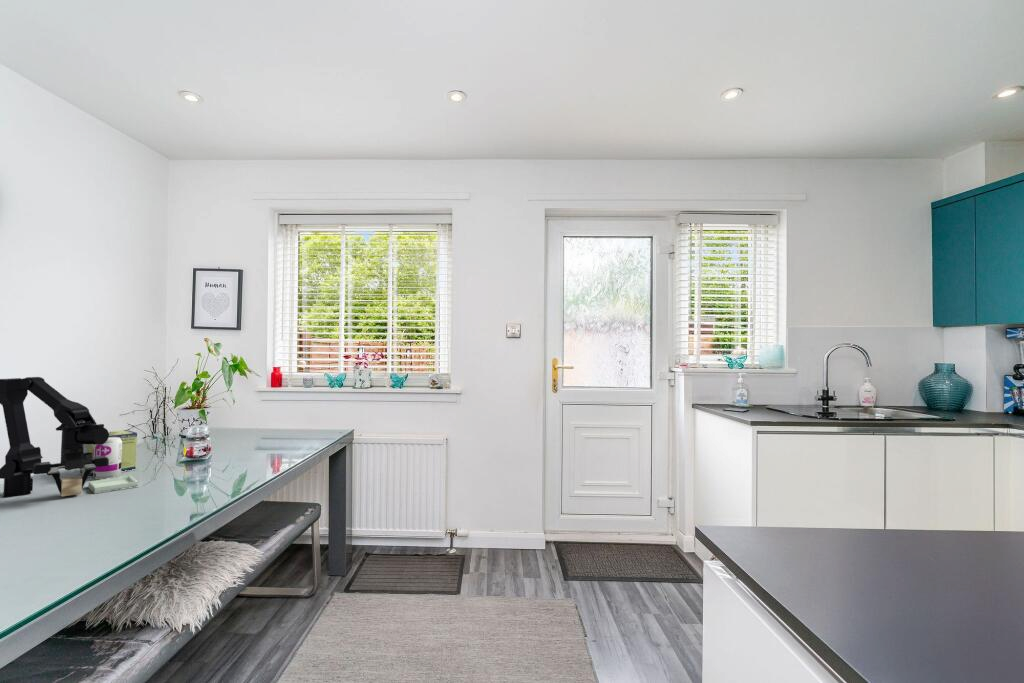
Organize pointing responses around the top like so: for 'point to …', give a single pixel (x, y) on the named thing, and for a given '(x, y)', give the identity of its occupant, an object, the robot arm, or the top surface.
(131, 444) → the protein box
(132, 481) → the tray
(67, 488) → the maple cube
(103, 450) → the supplement can
